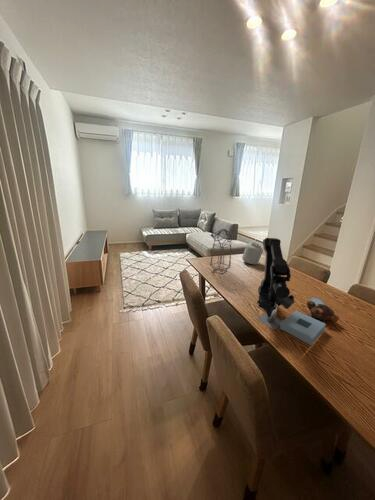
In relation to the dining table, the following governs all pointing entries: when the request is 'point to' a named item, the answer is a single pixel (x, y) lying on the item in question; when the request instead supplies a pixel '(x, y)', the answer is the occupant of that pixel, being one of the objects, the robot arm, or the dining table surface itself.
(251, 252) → the jar
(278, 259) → the robot arm
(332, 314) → the decorative turtle
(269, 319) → the steel pin
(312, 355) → the dining table surface
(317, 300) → the smartphone
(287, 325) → the blue peg hole block
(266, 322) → the rubber mat
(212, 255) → the geometric lantern
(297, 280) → the dining table surface
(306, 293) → the dining table surface
